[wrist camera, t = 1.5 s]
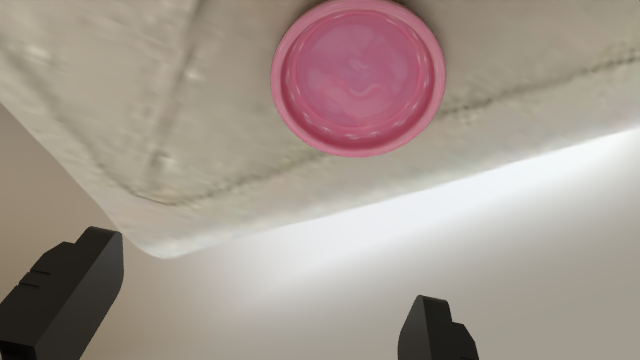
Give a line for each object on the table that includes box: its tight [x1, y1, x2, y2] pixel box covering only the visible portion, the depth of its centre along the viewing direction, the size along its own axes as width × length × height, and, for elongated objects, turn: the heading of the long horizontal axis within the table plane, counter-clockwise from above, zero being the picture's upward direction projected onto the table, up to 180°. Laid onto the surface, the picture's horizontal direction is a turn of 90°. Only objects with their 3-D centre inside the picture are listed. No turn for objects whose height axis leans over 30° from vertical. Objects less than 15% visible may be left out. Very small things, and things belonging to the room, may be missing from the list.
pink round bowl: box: [271, 0, 446, 157], centre depth 34 cm, size 12×12×3 cm
